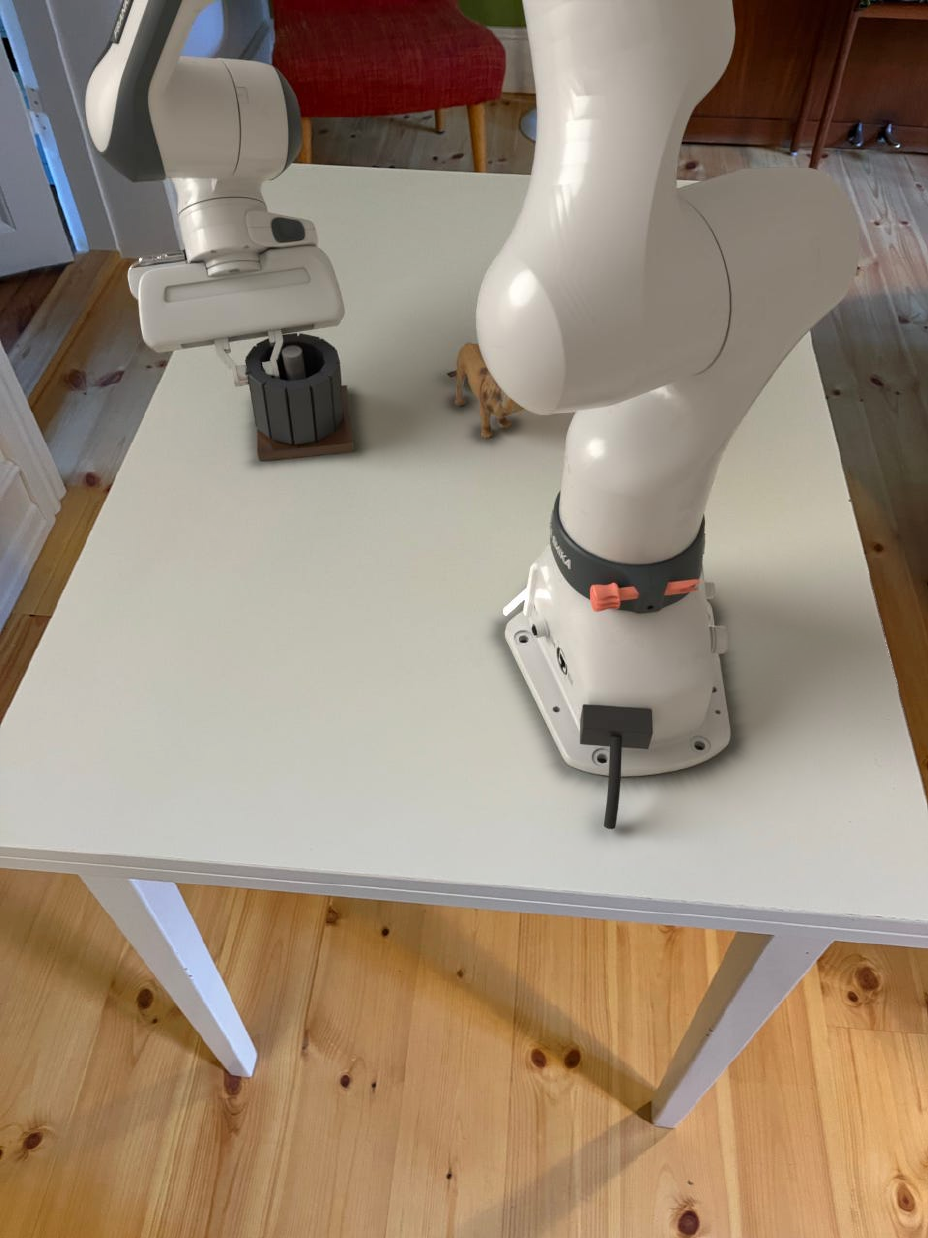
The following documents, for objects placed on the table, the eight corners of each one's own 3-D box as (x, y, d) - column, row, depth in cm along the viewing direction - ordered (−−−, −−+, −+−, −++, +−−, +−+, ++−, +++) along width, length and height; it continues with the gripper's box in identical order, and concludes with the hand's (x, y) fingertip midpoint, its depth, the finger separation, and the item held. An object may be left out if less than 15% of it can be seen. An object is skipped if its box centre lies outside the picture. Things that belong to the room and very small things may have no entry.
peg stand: (354, 451, 99) (344, 376, 91) (259, 461, 98) (241, 386, 90) (347, 393, 105) (338, 318, 97) (258, 401, 104) (242, 327, 96)
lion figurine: (542, 439, 100) (547, 369, 93) (501, 458, 98) (504, 388, 91) (465, 370, 107) (465, 300, 100) (426, 386, 105) (423, 316, 98)
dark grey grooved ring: (349, 437, 98) (346, 383, 93) (260, 449, 96) (250, 394, 91) (335, 382, 104) (331, 328, 98) (250, 393, 102) (241, 338, 97)
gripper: (117, 248, 88) (149, 394, 90) (329, 219, 92) (356, 361, 93) (129, 266, 95) (158, 403, 96) (327, 239, 98) (353, 372, 99)
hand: (257, 382), depth 95 cm, fingers closed on dark grey grooved ring
